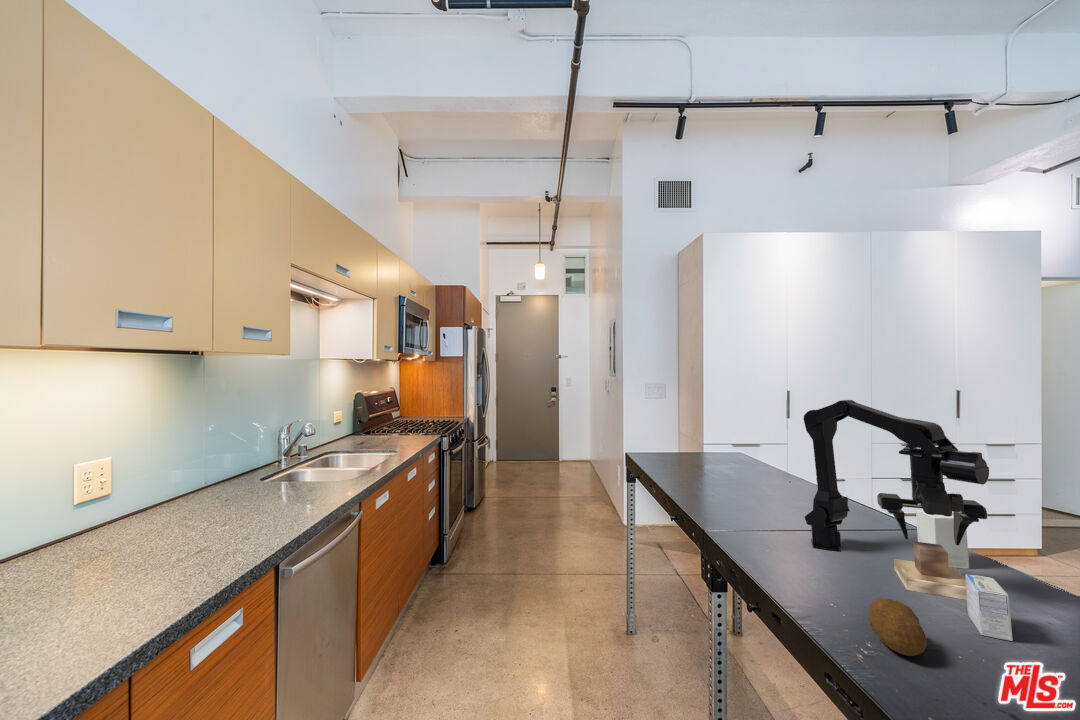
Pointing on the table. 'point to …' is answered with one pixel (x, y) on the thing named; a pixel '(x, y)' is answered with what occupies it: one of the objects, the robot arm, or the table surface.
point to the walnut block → (931, 559)
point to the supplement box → (943, 537)
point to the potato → (897, 626)
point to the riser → (931, 581)
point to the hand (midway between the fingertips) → (931, 541)
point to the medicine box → (988, 607)
